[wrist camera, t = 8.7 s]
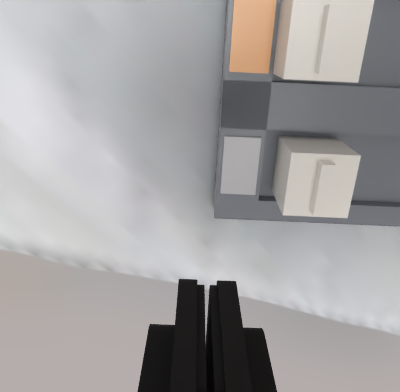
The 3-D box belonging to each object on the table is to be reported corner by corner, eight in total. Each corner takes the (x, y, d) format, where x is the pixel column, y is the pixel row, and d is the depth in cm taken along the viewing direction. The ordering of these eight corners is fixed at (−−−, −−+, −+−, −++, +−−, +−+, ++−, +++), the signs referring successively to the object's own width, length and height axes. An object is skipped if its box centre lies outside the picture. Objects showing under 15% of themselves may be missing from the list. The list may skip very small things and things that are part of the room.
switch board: (559, -20, 23) (594, -25, 21) (473, 218, 29) (493, 231, 27) (229, -37, 23) (231, -44, 21) (213, 206, 29) (214, 219, 27)
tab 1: (346, 4, 22) (381, -4, 18) (334, 75, 24) (363, 84, 20) (279, 1, 22) (297, -8, 18) (270, 72, 24) (286, 80, 19)
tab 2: (338, 138, 26) (366, 159, 21) (327, 193, 27) (352, 224, 23) (279, 135, 25) (294, 156, 21) (271, 190, 27) (285, 221, 23)
